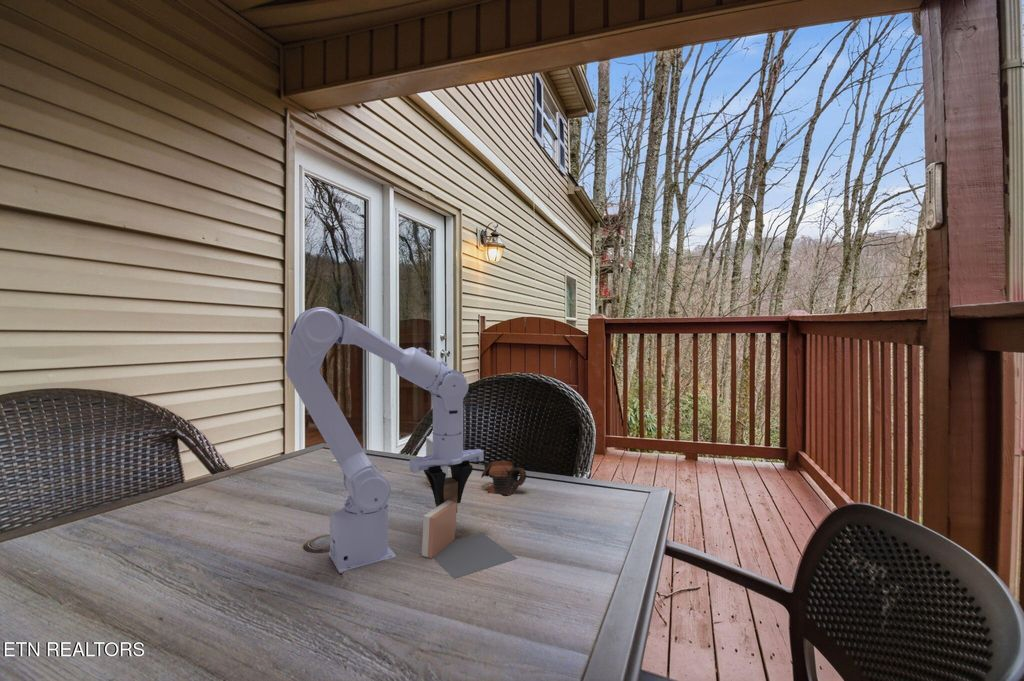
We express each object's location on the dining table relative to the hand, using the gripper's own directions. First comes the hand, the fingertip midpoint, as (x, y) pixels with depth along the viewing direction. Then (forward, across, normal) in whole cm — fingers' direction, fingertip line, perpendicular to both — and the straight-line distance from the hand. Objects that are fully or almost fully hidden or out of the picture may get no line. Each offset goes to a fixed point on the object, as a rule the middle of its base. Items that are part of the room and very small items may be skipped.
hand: (447, 503), depth 89 cm
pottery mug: (+7, +23, +17) cm, 30 cm away
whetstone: (+6, -4, -4) cm, 8 cm away
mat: (+7, 0, -9) cm, 11 cm away
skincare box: (+7, +11, +29) cm, 32 cm away
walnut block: (+2, 0, +1) cm, 2 cm away
